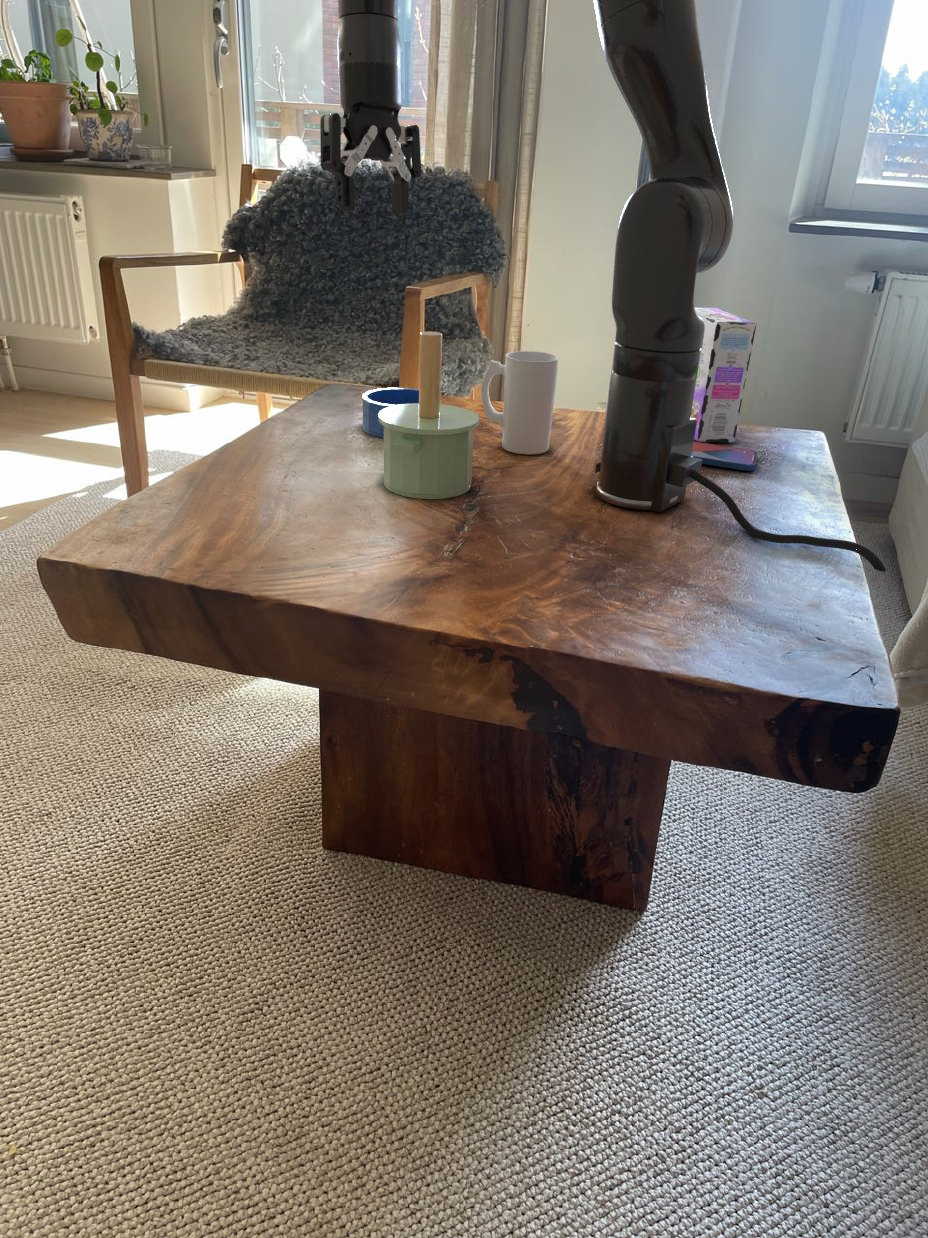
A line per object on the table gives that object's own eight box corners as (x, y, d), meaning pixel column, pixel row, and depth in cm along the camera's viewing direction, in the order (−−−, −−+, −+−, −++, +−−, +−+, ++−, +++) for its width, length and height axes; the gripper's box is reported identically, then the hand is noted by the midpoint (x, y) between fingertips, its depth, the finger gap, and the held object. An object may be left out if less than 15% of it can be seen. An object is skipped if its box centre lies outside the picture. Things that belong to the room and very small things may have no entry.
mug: (556, 445, 120) (565, 354, 115) (542, 458, 115) (550, 363, 109) (487, 434, 123) (491, 346, 118) (469, 447, 118) (474, 354, 112)
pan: (452, 429, 125) (453, 397, 123) (402, 444, 118) (403, 410, 116) (398, 415, 131) (398, 384, 129) (347, 428, 123) (346, 395, 121)
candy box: (736, 443, 125) (759, 322, 117) (696, 443, 124) (716, 321, 116) (700, 417, 137) (718, 305, 129) (663, 417, 136) (680, 304, 128)
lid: (491, 420, 104) (496, 330, 99) (459, 445, 94) (464, 347, 90) (401, 408, 107) (402, 320, 102) (361, 432, 97) (360, 336, 93)
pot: (488, 471, 109) (492, 410, 106) (445, 512, 96) (448, 444, 93) (411, 459, 112) (412, 400, 108) (359, 498, 99) (358, 432, 95)
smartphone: (753, 473, 113) (755, 465, 113) (636, 455, 117) (637, 447, 116) (755, 458, 119) (757, 450, 119) (644, 441, 123) (645, 433, 123)
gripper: (341, 50, 100) (347, 209, 106) (434, 69, 109) (435, 214, 115) (302, 60, 105) (310, 211, 111) (394, 77, 114) (397, 216, 120)
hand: (374, 212), depth 113 cm, fingers open, 8 cm apart
